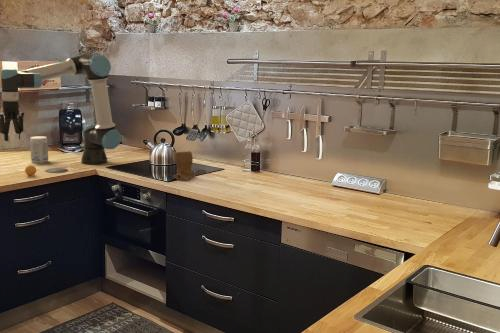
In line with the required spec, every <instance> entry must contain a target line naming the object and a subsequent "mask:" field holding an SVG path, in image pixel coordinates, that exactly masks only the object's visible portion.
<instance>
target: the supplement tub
mask: <svg viewBox="0 0 500 333" xmlns="http://www.w3.org/2000/svg"><path fill="white" fill-rule="evenodd" d="M29 144H30V145H29V146H30V159H31V161H30V162H32V163H35V164H41V163H47V162H48V161H49V146H48V144H49V143H48V137H47V136H43V135H39V136H38V135H37V136H30V138H29Z"/></svg>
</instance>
